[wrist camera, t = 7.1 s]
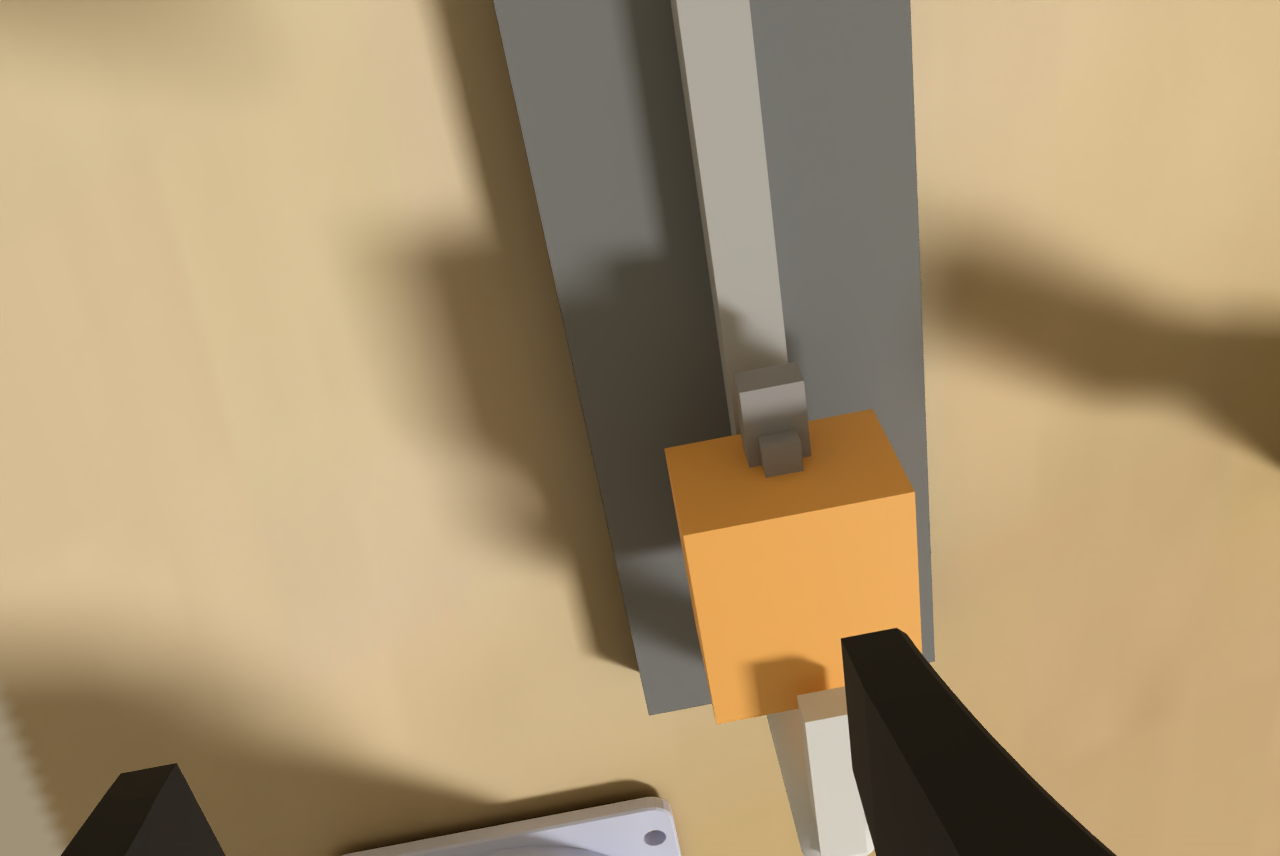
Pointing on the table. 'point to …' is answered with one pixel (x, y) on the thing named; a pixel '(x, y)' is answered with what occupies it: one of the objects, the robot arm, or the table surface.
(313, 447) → the table surface
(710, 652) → the orange cube with peg
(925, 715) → the robot arm
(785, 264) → the linear slider rail
